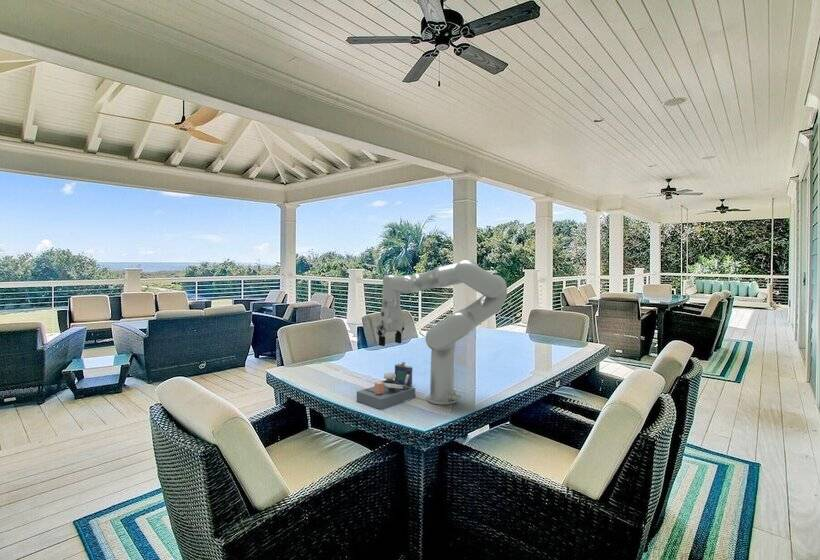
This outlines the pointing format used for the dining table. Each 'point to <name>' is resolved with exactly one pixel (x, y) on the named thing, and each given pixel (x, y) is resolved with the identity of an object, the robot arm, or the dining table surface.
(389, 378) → the push button
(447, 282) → the robot arm
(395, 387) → the rocker
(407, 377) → the toggle lever
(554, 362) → the dining table surface
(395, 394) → the grey low block
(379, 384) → the slider knob
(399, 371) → the flask
